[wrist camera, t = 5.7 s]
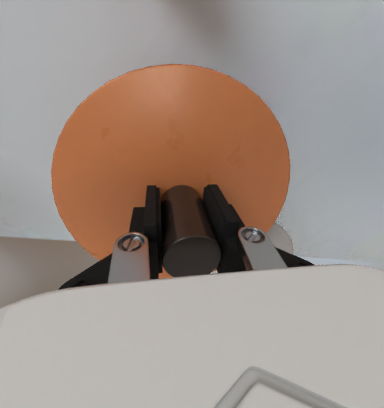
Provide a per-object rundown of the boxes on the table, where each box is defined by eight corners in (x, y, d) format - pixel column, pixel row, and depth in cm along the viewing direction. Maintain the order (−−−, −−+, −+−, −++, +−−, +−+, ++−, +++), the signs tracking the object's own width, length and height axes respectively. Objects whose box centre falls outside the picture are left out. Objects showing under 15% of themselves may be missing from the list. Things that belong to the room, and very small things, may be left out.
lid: (272, 22, 10) (403, -48, 5) (284, 236, 17) (338, 299, 12) (-4, 121, 10) (-171, 161, 5) (128, 288, 18) (116, 371, 13)
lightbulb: (207, 222, 28) (234, 290, 19) (223, 184, 26) (263, 241, 16) (244, 228, 30) (285, 293, 21) (262, 193, 27) (319, 249, 18)
